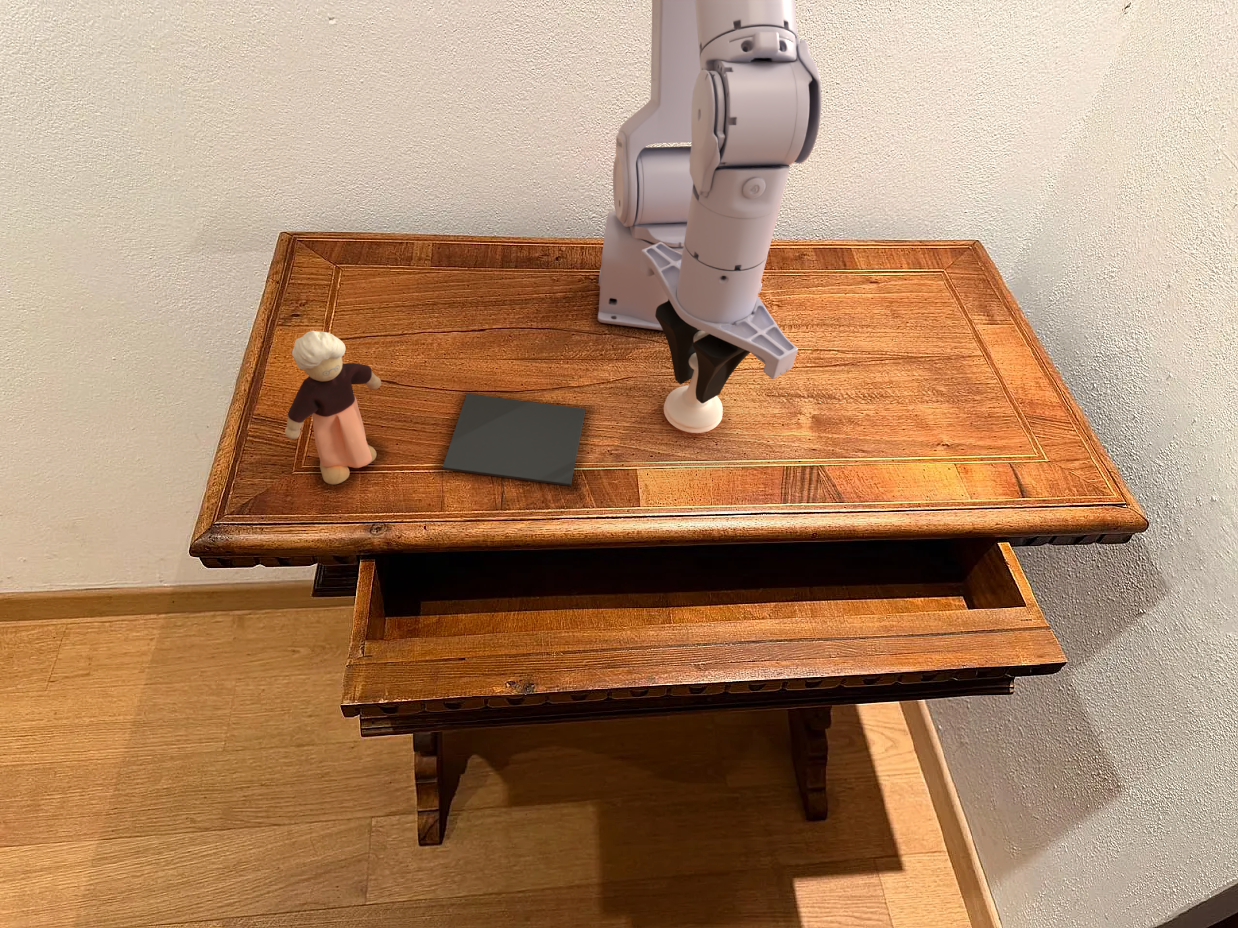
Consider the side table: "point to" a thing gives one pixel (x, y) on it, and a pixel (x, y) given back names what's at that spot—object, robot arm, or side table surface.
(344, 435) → the grandmother figurine
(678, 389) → the chess piece
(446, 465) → the felt mat
